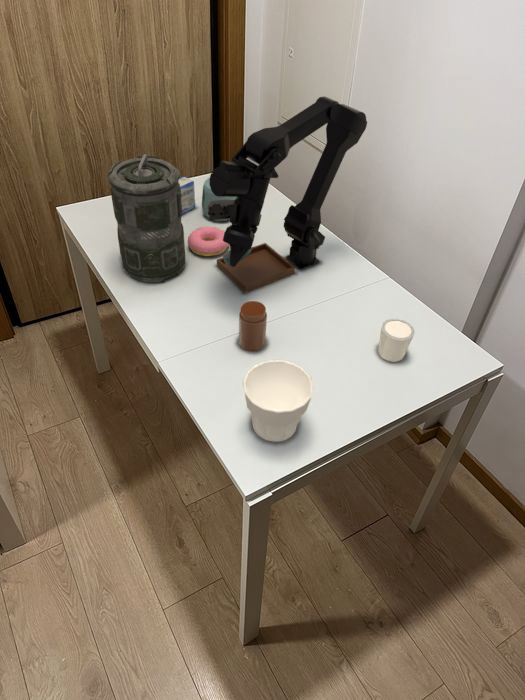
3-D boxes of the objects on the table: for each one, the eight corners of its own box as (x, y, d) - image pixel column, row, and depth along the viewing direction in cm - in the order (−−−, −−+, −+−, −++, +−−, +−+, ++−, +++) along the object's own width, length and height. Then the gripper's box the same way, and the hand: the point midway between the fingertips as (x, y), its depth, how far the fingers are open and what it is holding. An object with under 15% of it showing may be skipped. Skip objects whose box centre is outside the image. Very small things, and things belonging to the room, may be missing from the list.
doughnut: (219, 233, 148) (219, 219, 145) (235, 254, 141) (235, 240, 138) (182, 241, 145) (181, 227, 142) (196, 262, 138) (196, 249, 135)
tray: (265, 249, 144) (265, 242, 142) (294, 273, 136) (295, 267, 135) (216, 266, 137) (216, 259, 136) (245, 293, 130) (245, 286, 128)
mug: (201, 198, 162) (200, 166, 155) (237, 197, 163) (237, 166, 156) (202, 224, 151) (201, 191, 144) (241, 223, 153) (241, 191, 146)
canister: (128, 247, 141) (112, 143, 122) (188, 249, 142) (182, 145, 123) (117, 283, 130) (98, 174, 111) (182, 285, 131) (174, 177, 111)
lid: (229, 257, 126) (225, 251, 126) (253, 245, 124) (249, 239, 123) (224, 268, 121) (220, 262, 120) (249, 256, 118) (244, 249, 118)
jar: (255, 330, 120) (257, 296, 113) (270, 345, 117) (272, 311, 110) (233, 339, 117) (234, 305, 111) (248, 355, 114) (249, 321, 107)
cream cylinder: (400, 368, 113) (407, 344, 108) (370, 355, 116) (376, 331, 111) (411, 349, 118) (419, 326, 113) (382, 337, 120) (389, 314, 115)
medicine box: (176, 218, 153) (174, 190, 147) (165, 212, 155) (163, 184, 149) (195, 208, 158) (194, 180, 152) (185, 202, 160) (183, 175, 154)
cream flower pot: (243, 397, 106) (244, 357, 98) (306, 400, 106) (312, 361, 98) (239, 449, 97) (240, 410, 89) (308, 452, 97) (315, 414, 89)
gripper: (222, 174, 122) (208, 236, 130) (207, 196, 106) (192, 265, 115) (269, 188, 123) (251, 250, 131) (261, 212, 107) (241, 280, 115)
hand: (234, 260), depth 123 cm, fingers closed on lid, 6 cm apart
